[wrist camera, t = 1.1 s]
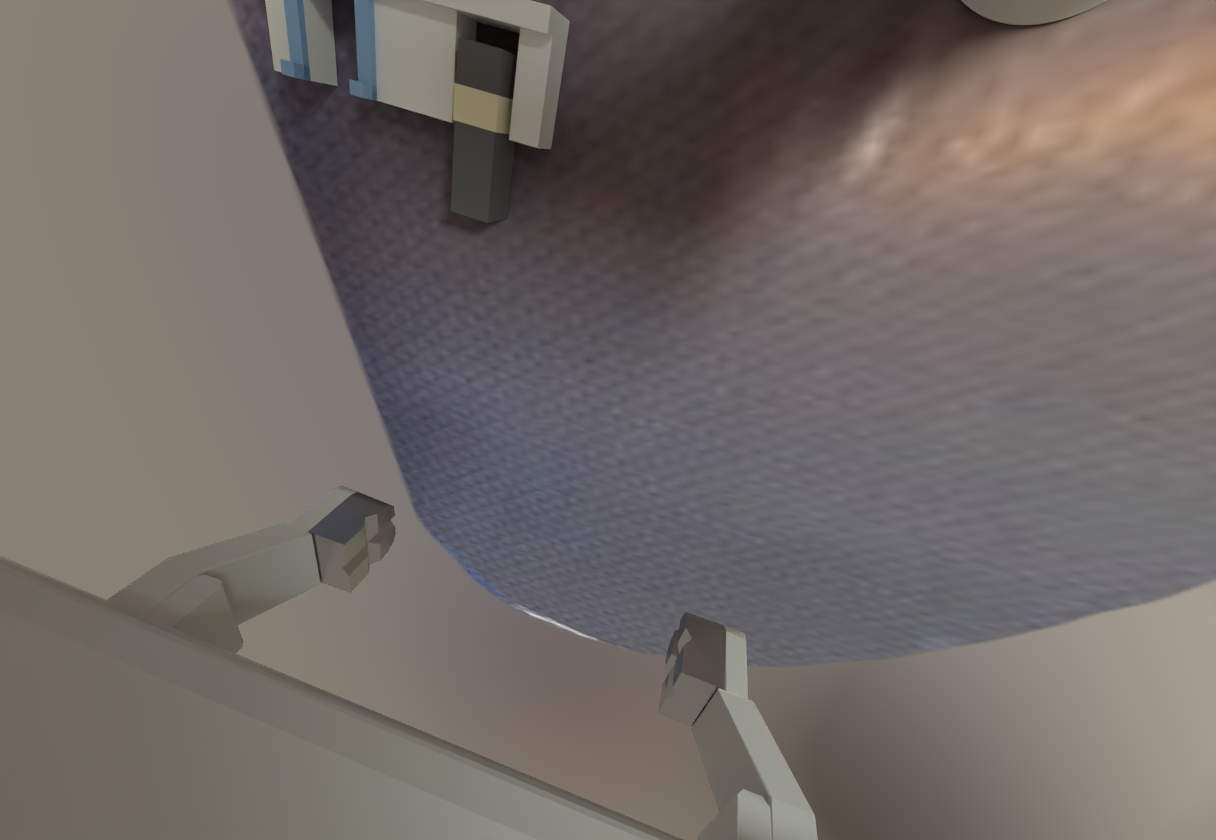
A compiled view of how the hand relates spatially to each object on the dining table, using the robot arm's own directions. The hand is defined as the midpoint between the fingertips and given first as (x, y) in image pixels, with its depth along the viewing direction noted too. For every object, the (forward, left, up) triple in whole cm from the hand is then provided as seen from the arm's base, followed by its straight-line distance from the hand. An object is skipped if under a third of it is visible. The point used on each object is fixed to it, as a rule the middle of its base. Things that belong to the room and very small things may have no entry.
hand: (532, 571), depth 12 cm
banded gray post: (-7, -19, -35) cm, 40 cm away
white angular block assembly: (-11, -26, -35) cm, 45 cm away
